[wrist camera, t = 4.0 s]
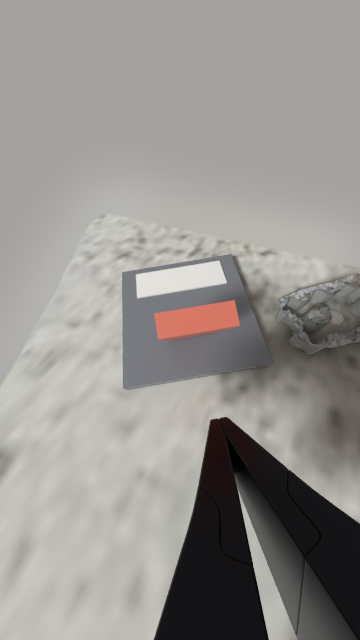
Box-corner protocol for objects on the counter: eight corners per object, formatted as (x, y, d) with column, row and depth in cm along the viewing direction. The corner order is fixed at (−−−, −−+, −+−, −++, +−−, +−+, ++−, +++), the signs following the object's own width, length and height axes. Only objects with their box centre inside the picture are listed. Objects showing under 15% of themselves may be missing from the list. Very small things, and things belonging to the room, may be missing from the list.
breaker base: (268, 365, 21) (274, 362, 19) (127, 389, 20) (122, 387, 19) (229, 261, 28) (231, 253, 26) (125, 279, 28) (121, 271, 26)
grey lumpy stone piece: (343, 290, 25) (369, 269, 21) (381, 342, 21) (421, 327, 17) (266, 305, 24) (279, 286, 21) (293, 360, 21) (314, 348, 17)
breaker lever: (216, 333, 21) (248, 324, 11) (165, 341, 21) (149, 341, 11) (213, 319, 22) (242, 298, 11) (163, 328, 21) (146, 314, 11)
